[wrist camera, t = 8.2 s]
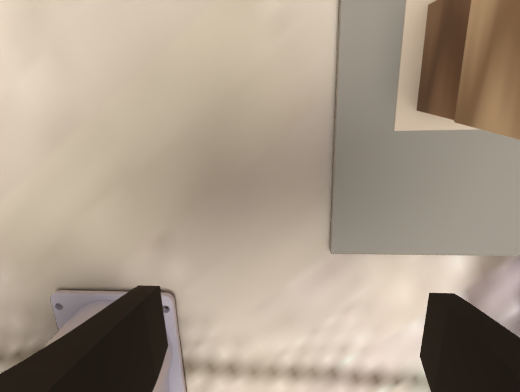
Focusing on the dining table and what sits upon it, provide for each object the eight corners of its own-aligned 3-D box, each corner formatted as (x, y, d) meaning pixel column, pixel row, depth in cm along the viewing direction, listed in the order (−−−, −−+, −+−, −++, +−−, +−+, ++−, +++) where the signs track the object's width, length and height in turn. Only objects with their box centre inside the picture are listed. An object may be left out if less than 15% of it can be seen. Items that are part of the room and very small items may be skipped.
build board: (532, 250, 19) (541, 257, 18) (329, 248, 20) (331, 254, 19) (605, -48, 15) (620, -53, 14) (340, -32, 16) (342, -37, 15)
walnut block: (516, 108, 16) (585, 117, 12) (416, 110, 17) (453, 120, 13) (537, -1, 15) (623, -28, 11) (428, 4, 15) (474, -20, 11)
